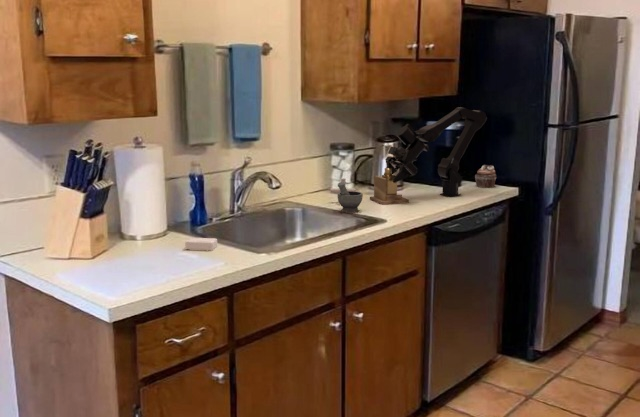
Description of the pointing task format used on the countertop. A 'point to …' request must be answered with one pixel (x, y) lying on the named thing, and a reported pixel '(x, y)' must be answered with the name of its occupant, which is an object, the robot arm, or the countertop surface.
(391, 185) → the bronze perfume bottle
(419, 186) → the countertop surface
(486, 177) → the cupcake
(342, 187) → the mortar and pestle
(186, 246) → the soap
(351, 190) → the pipe connector
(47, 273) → the countertop surface
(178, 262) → the countertop surface
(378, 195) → the bronze stepped stand
